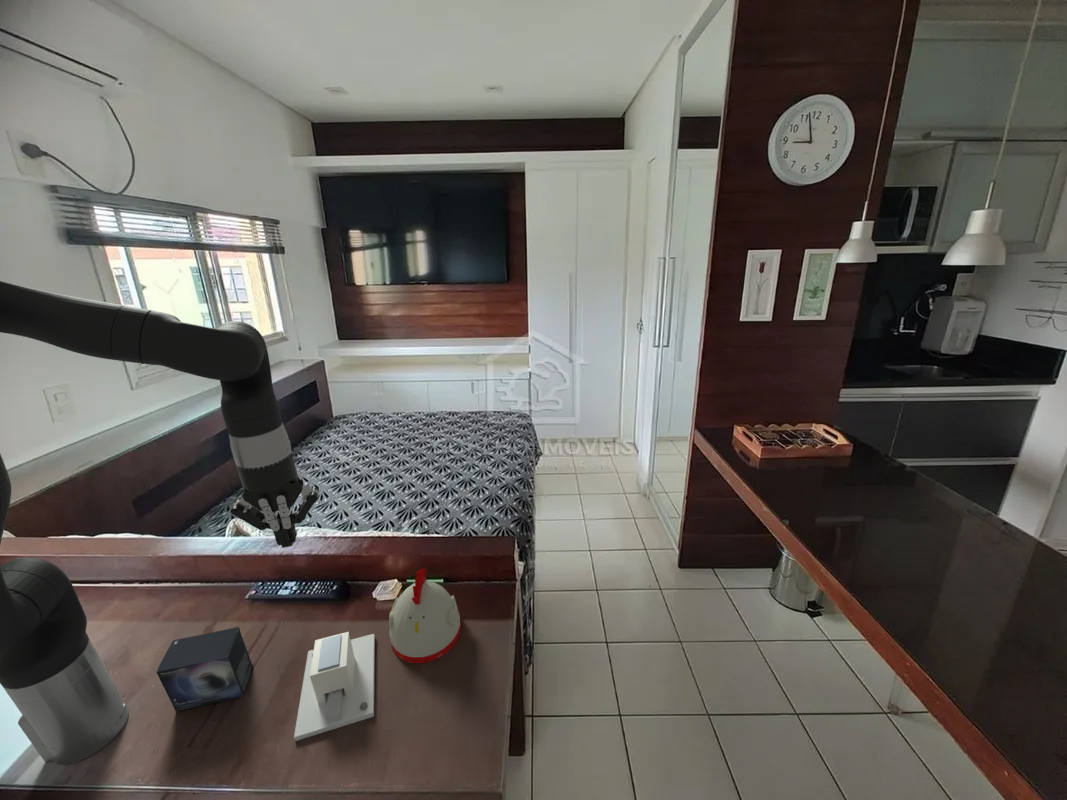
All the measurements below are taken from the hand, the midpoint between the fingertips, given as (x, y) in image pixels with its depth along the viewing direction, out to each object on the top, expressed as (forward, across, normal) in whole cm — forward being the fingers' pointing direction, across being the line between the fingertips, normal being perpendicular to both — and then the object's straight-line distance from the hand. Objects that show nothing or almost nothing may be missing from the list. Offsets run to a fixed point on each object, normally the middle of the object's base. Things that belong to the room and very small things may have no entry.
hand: (288, 543), depth 74 cm
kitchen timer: (+27, +20, -1) cm, 34 cm away
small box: (+27, -17, -1) cm, 32 cm away
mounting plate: (+27, +4, -7) cm, 28 cm away
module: (+26, +4, -7) cm, 27 cm away
